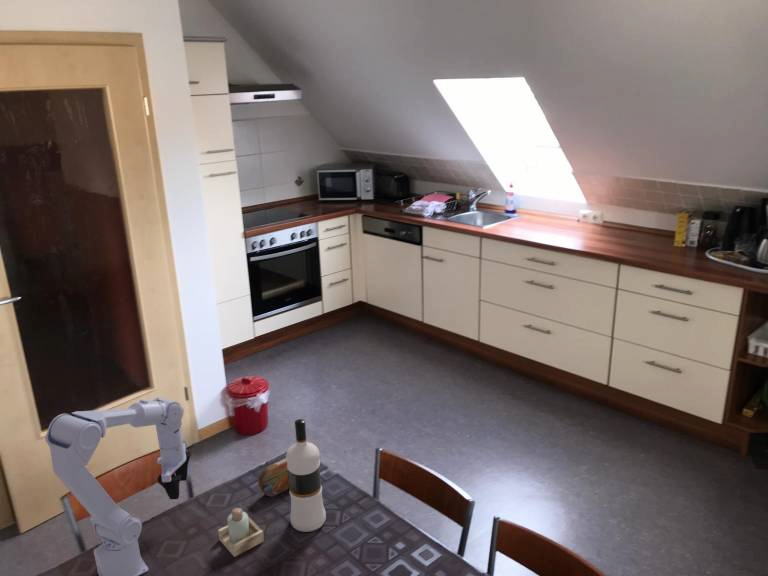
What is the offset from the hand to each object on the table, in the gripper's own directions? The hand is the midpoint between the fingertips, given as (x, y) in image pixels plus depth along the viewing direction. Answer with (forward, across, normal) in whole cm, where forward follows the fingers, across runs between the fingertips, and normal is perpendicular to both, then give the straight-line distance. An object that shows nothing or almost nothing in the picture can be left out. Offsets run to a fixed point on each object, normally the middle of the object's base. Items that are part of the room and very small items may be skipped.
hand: (178, 489), depth 160 cm
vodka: (+11, +3, +33) cm, 35 cm away
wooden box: (+10, +8, +17) cm, 21 cm away
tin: (+11, -13, +25) cm, 30 cm away
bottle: (+9, +8, +16) cm, 21 cm away
